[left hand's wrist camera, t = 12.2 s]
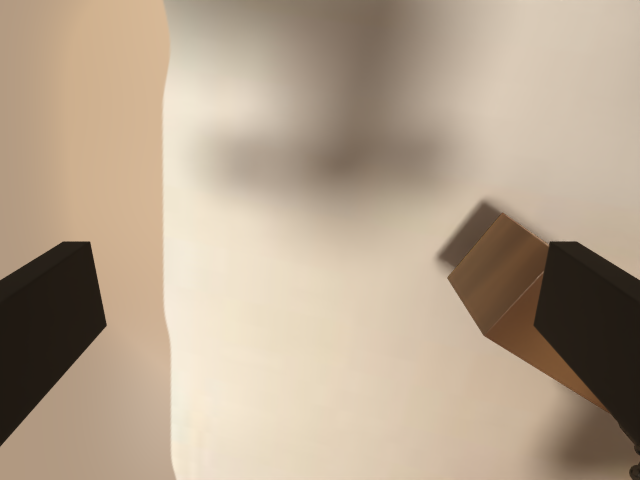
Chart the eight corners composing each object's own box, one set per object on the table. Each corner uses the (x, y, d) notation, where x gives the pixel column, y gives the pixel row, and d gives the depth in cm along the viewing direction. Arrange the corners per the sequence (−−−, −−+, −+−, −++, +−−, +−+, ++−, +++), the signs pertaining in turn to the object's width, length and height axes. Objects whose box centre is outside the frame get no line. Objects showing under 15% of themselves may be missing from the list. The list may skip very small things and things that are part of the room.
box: (446, 277, 37) (483, 335, 28) (502, 212, 35) (559, 254, 26) (635, 398, 41) (713, 477, 33) (694, 346, 39) (793, 418, 31)
